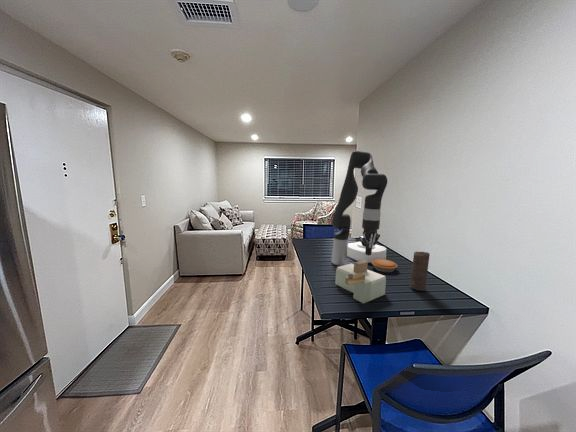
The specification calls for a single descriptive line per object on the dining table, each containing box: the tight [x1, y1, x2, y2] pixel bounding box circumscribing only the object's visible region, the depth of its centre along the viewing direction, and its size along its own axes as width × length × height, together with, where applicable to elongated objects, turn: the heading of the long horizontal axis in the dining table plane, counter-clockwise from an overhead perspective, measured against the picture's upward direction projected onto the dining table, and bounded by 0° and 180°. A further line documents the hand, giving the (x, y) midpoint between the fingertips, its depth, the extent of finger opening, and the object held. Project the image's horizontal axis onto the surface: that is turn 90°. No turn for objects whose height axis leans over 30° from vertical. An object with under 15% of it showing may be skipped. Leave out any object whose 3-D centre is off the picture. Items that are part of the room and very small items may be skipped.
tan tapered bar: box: [345, 273, 365, 286], centre depth 115 cm, size 3×10×4 cm, turn 126°
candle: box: [409, 251, 430, 291], centre depth 131 cm, size 8×7×20 cm
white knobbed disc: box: [347, 241, 387, 264], centre depth 184 cm, size 25×25×16 cm
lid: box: [336, 260, 386, 284], centre depth 129 cm, size 22×11×6 cm, turn 36°
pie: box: [371, 259, 398, 273], centre depth 160 cm, size 16×16×5 cm
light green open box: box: [334, 269, 387, 305], centre depth 129 cm, size 22×16×10 cm
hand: (368, 254), depth 118 cm, fingers closed
